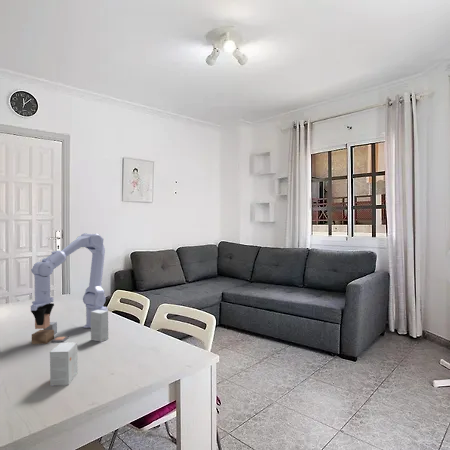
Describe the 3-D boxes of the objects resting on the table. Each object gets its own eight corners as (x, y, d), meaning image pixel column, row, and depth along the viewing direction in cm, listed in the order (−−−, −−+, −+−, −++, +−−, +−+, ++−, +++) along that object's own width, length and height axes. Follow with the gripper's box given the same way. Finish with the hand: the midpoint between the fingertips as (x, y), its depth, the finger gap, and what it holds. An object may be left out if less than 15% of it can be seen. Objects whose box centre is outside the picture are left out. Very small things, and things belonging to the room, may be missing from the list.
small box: (60, 374, 109) (60, 342, 109) (78, 373, 109) (77, 341, 109) (49, 386, 101) (49, 352, 101) (68, 385, 101) (68, 351, 101)
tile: (68, 337, 142) (68, 335, 142) (63, 342, 137) (63, 340, 137) (56, 337, 142) (56, 336, 142) (51, 342, 137) (51, 340, 137)
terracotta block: (49, 325, 140) (49, 313, 140) (45, 328, 136) (44, 316, 136) (40, 325, 140) (40, 313, 140) (35, 328, 136) (34, 316, 136)
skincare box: (108, 338, 141) (108, 310, 140) (101, 342, 137) (100, 313, 137) (98, 336, 143) (97, 309, 143) (90, 340, 139) (90, 311, 139)
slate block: (57, 333, 148) (56, 321, 148) (52, 336, 144) (52, 324, 144) (47, 333, 148) (47, 322, 148) (43, 336, 144) (43, 324, 144)
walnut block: (54, 339, 141) (54, 329, 141) (46, 344, 135) (46, 334, 135) (40, 339, 141) (40, 329, 141) (31, 344, 135) (31, 334, 135)
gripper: (41, 287, 145) (42, 318, 145) (22, 294, 131) (23, 329, 131) (58, 287, 145) (58, 317, 146) (40, 294, 131) (41, 328, 131)
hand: (42, 323), depth 138 cm, fingers closed on terracotta block, 4 cm apart
